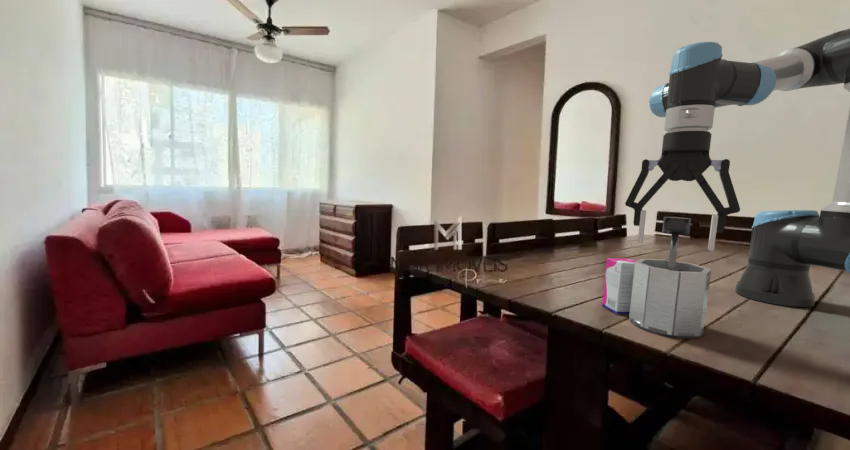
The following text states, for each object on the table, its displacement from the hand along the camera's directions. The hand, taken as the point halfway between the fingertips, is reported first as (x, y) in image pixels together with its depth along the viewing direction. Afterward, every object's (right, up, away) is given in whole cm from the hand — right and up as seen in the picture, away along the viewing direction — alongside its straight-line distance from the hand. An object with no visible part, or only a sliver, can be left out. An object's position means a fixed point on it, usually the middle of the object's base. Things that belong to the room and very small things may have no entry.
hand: (674, 245), depth 73 cm
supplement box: (-5, -15, +11) cm, 19 cm away
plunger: (0, -15, +2) cm, 15 cm away
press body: (-1, -16, +3) cm, 17 cm away
